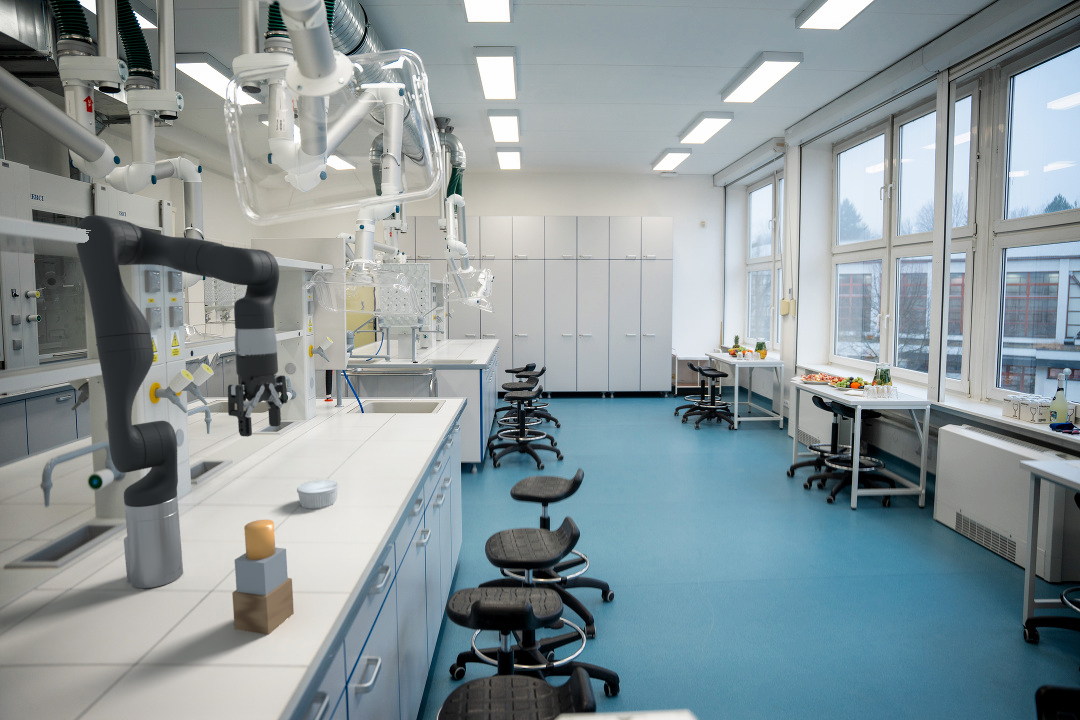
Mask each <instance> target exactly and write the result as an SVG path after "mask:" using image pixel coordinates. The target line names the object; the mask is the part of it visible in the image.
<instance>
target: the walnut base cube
mask: <svg viewBox="0 0 1080 720" xmlns="http://www.w3.org/2000/svg"><path fill="white" fill-rule="evenodd" d="M293 591H294V590H293V578H291V577H288V580H286V581H285V582H284V583H282V584H281V585H280V586H278V587H277V588H276V589H274V590H273V591H272V592H270V593H269V594H268V595H266V596H264V595H257V594H249V593H242V592H237V590H236V589H235V590H234V591H233V592H232V593H231V594H232V595H231V596H232V609H233V623H234V624H233V625H234V630H236V631H244V632H250V633H257V634H261V635H268V636H269V635H270V634H272V632H274V631H275V630H276V629H277V628H279V627H280V626H281V625H282V624H284V623H285V622H286V621H287V620H288V619H289V618H290V617H292V616H291V615H294V613H295V611H294V595H293ZM287 618H288V619H287ZM286 619H287V620H286ZM285 620H286V621H285ZM279 625H280V626H279Z"/></svg>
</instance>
